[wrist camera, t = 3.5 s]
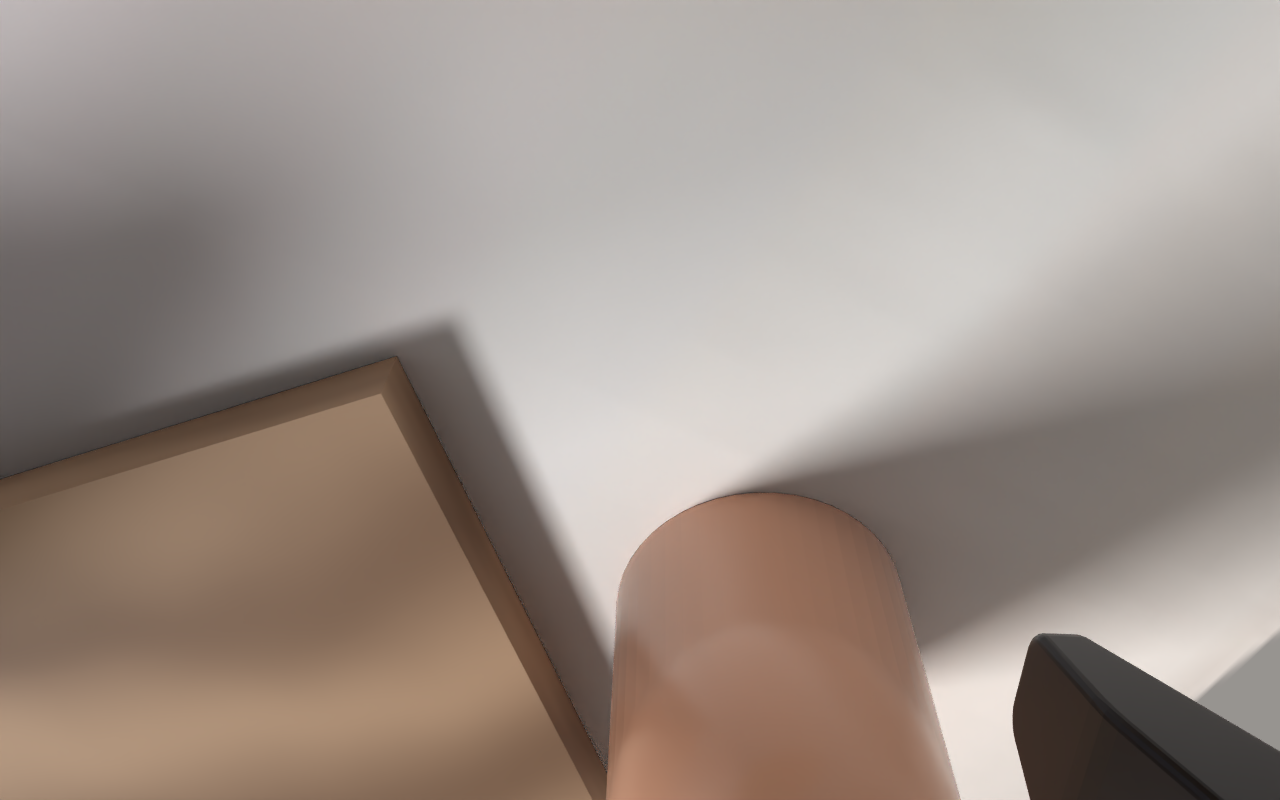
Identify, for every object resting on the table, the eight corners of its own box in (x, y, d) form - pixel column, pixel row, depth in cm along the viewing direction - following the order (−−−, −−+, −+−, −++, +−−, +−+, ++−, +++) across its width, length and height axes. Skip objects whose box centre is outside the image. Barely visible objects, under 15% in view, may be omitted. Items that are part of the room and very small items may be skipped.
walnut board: (-182, 536, 26) (-227, 579, 24) (396, 356, 23) (381, 393, 22) (238, 1031, 35) (222, 1082, 33) (690, 938, 32) (691, 990, 31)
